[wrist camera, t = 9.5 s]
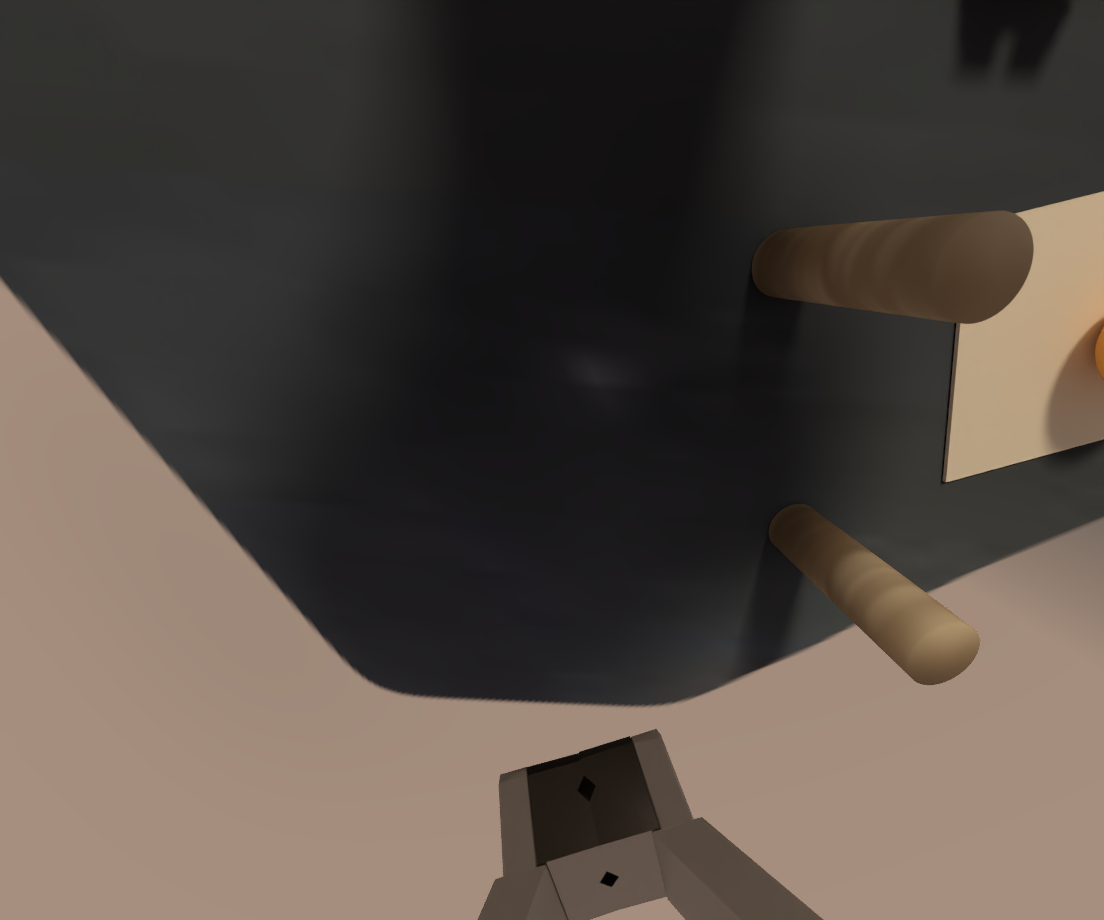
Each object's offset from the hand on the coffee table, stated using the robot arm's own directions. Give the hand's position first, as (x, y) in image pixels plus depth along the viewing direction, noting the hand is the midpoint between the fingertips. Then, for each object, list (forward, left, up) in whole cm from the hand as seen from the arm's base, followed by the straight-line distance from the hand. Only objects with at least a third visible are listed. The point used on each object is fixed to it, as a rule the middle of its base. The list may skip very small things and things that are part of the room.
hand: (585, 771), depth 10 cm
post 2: (+7, +12, -14) cm, 20 cm away
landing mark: (0, +26, -14) cm, 30 cm away
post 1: (-6, +12, -14) cm, 20 cm away
